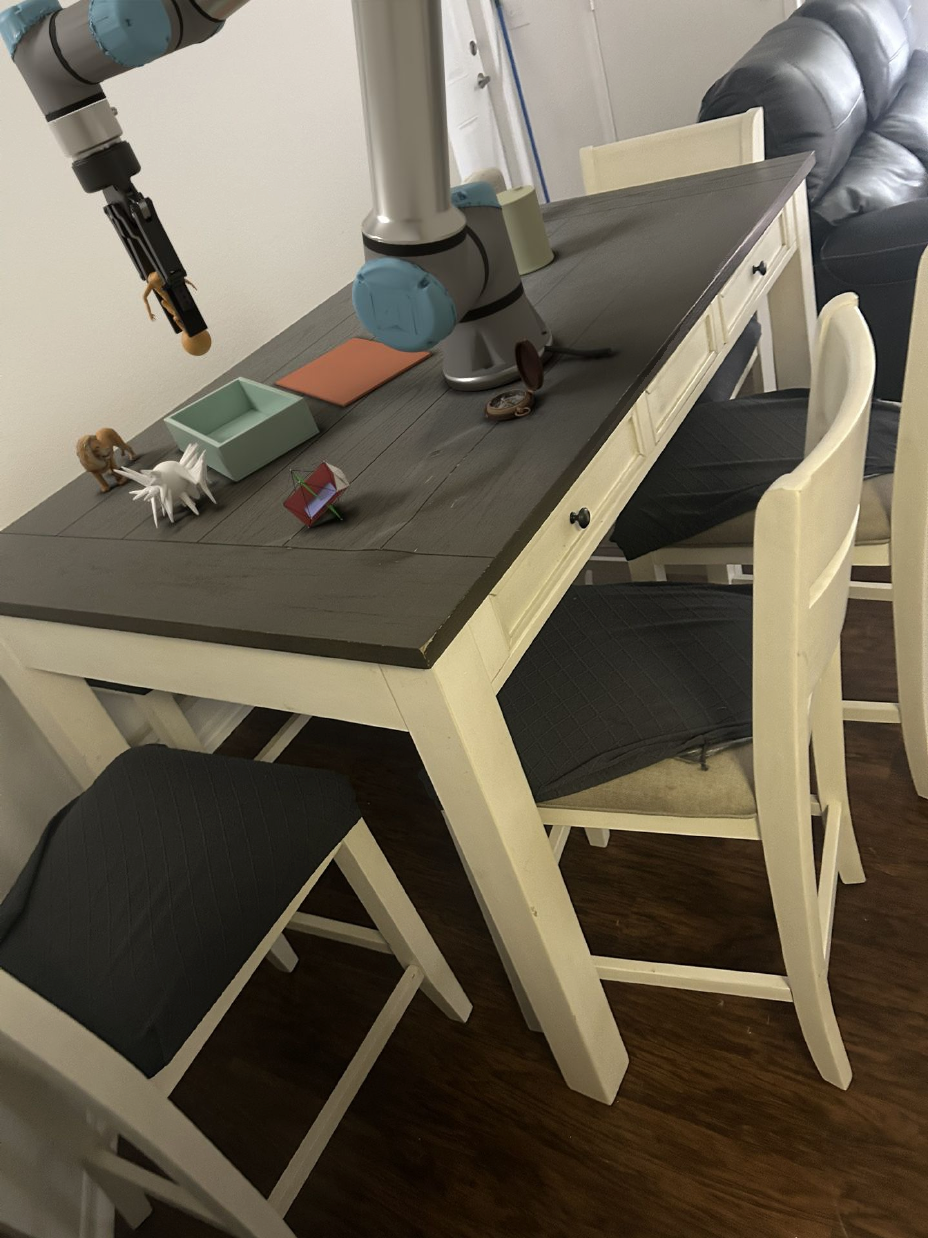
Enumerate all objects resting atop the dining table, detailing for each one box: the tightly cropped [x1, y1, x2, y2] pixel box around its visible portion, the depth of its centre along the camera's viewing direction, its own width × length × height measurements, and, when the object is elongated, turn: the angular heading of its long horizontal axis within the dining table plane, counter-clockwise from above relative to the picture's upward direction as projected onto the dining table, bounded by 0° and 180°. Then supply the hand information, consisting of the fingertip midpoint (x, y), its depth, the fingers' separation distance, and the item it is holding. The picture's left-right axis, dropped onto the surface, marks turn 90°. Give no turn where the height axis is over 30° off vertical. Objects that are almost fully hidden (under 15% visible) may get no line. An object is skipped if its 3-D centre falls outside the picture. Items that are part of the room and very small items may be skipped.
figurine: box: [142, 271, 213, 357], centre depth 123 cm, size 8×6×12 cm
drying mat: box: [275, 337, 432, 408], centre depth 144 cm, size 24×16×1 cm, turn 36°
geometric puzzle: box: [281, 460, 351, 529], centre depth 104 cm, size 7×7×8 cm
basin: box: [163, 376, 320, 483], centre depth 133 cm, size 23×14×5 cm, turn 36°
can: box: [496, 184, 555, 276], centre depth 154 cm, size 9×9×12 cm
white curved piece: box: [458, 166, 508, 194], centre depth 174 cm, size 10×4×12 cm, turn 134°
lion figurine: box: [75, 427, 138, 493], centre depth 137 cm, size 15×5×9 cm, turn 13°
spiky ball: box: [114, 443, 218, 529], centre depth 118 cm, size 11×12×8 cm
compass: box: [484, 339, 545, 421], centre depth 110 cm, size 8×8×7 cm
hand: (191, 330), depth 124 cm, fingers open, 5 cm apart
